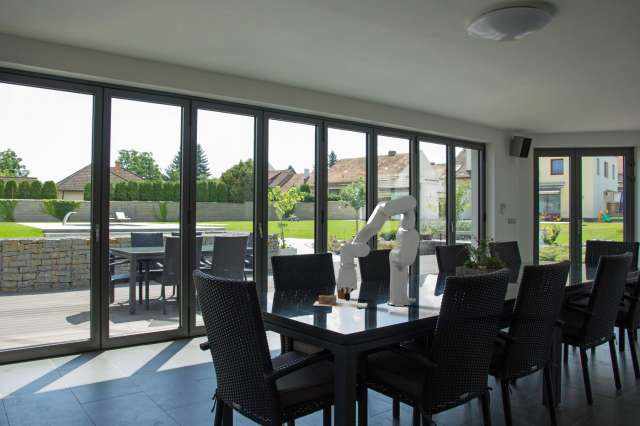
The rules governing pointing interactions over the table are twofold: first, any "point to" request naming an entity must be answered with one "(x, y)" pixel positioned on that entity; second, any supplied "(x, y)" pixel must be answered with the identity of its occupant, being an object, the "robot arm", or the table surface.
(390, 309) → the table surface
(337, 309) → the table surface
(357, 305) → the push board
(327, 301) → the walnut T-block
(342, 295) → the disposable coffee cup
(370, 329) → the table surface
